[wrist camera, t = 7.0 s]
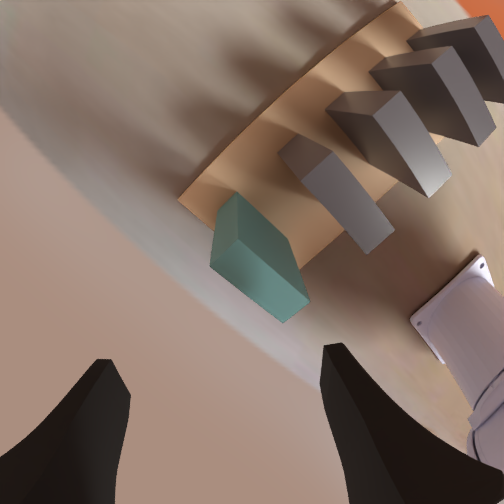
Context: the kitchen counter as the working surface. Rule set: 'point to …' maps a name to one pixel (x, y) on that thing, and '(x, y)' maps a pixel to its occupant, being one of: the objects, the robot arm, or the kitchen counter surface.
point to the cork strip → (313, 127)
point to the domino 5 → (391, 137)
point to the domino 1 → (257, 259)
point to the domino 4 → (438, 92)
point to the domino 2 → (337, 191)
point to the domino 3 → (470, 51)
